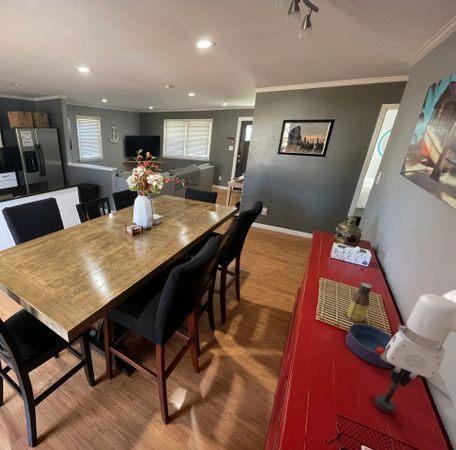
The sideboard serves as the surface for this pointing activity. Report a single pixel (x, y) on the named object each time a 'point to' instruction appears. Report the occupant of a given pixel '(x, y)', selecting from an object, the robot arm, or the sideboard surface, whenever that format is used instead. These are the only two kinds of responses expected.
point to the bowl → (367, 343)
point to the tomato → (380, 350)
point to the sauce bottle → (359, 303)
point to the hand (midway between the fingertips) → (397, 380)
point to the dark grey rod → (389, 396)
